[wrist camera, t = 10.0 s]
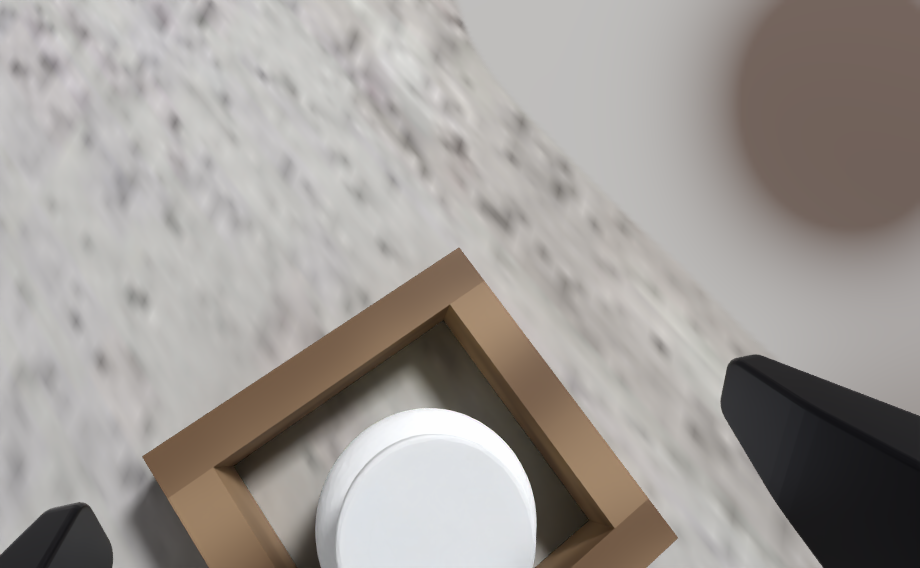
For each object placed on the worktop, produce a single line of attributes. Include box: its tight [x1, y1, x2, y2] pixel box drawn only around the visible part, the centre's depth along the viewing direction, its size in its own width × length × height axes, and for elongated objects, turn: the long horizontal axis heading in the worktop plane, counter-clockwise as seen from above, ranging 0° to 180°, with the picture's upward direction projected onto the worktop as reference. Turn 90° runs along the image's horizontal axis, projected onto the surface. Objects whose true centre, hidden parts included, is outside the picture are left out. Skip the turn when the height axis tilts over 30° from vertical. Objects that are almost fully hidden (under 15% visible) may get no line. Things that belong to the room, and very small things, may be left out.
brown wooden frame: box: [142, 248, 678, 568], centre depth 20 cm, size 12×12×2 cm
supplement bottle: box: [315, 408, 537, 568], centre depth 16 cm, size 5×5×10 cm
